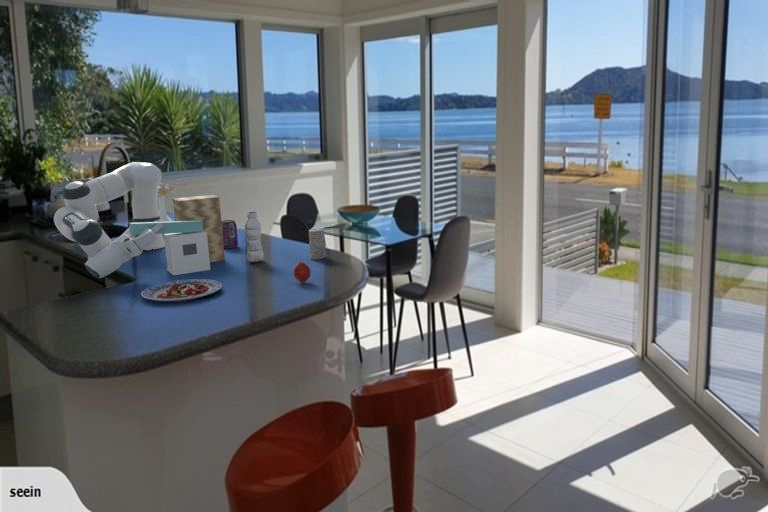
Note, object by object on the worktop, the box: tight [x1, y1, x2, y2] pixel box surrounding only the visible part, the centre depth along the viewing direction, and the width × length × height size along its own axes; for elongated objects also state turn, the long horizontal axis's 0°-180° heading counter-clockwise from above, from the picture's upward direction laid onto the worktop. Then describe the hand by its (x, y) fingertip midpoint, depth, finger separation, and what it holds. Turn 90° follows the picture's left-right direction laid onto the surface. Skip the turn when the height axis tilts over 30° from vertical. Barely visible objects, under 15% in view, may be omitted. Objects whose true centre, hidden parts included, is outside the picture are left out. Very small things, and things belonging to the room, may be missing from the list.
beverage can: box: [221, 219, 239, 249], centre depth 297 cm, size 7×7×12 cm
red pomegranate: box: [293, 260, 311, 284], centre depth 228 cm, size 6×6×8 cm
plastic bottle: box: [244, 211, 265, 263], centre depth 263 cm, size 6×7×20 cm
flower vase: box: [157, 181, 178, 222], centre depth 351 cm, size 13×18×25 cm
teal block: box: [128, 220, 203, 235], centre depth 248 cm, size 26×4×4 cm, turn 124°
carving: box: [308, 228, 326, 261], centre depth 266 cm, size 6×8×12 cm
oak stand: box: [172, 194, 226, 263], centre depth 269 cm, size 16×10×26 cm, turn 121°
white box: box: [163, 231, 211, 276], centre depth 254 cm, size 14×9×14 cm, turn 121°
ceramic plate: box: [141, 278, 223, 303], centre depth 220 cm, size 26×26×3 cm
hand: (160, 222), depth 247 cm, fingers closed on teal block, 4 cm apart
